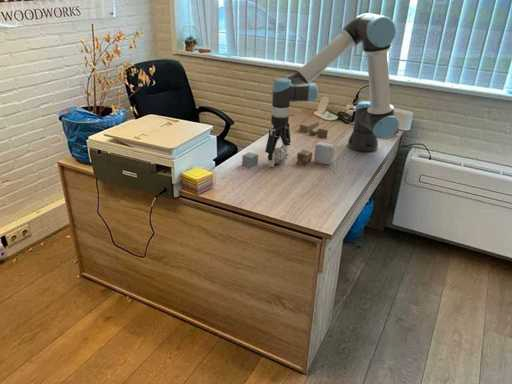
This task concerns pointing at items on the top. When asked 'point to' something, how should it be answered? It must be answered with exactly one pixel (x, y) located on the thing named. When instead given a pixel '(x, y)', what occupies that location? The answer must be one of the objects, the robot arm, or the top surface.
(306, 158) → the walnut cube
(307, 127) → the wooden block set
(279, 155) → the game die
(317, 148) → the medicine box
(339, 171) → the top surface
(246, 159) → the slate grey cube
